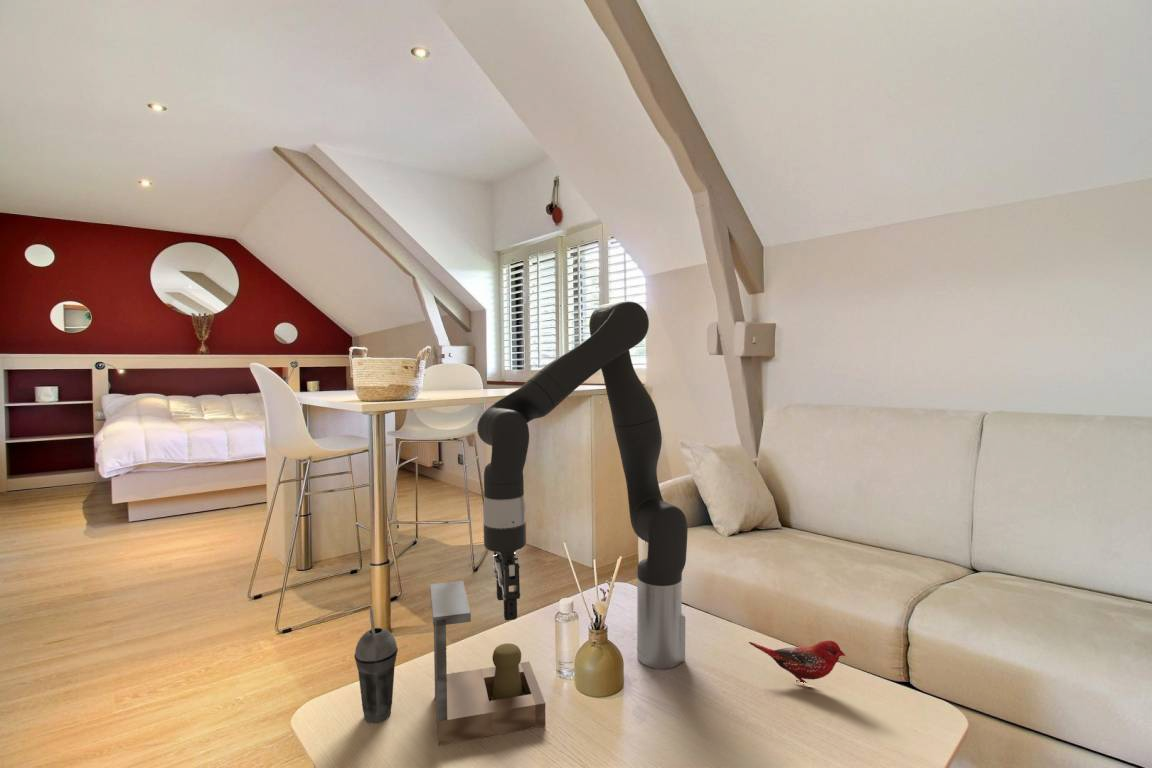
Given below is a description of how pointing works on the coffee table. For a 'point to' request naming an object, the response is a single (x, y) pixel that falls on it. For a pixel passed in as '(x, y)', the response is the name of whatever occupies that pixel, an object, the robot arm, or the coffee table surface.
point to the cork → (506, 672)
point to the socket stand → (475, 682)
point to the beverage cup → (376, 672)
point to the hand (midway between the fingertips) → (506, 608)
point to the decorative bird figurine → (806, 659)
